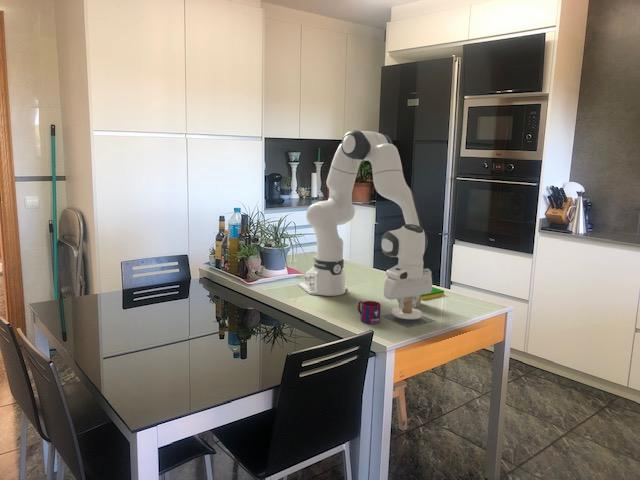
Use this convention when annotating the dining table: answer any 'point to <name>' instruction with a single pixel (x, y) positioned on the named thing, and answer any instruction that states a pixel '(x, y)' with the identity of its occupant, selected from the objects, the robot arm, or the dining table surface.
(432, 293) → the dish sponge
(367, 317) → the cup
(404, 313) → the cover lid
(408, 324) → the drying mat
